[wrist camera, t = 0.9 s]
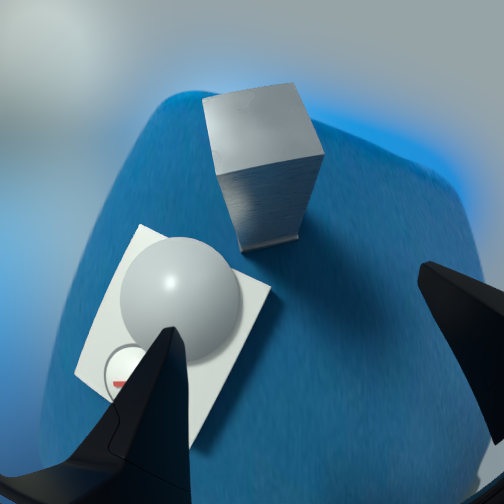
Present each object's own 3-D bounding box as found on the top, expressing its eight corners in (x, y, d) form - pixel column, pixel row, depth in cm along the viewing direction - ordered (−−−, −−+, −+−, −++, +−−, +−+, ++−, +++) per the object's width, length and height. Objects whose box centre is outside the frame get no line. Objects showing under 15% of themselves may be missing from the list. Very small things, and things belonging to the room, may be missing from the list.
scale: (274, 280, 23) (275, 276, 21) (193, 441, 20) (187, 452, 18) (152, 222, 25) (142, 213, 22) (85, 371, 22) (71, 374, 19)
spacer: (297, 240, 24) (329, 156, 11) (241, 253, 24) (213, 179, 11) (283, 189, 25) (295, 80, 12) (229, 201, 25) (198, 97, 12)
